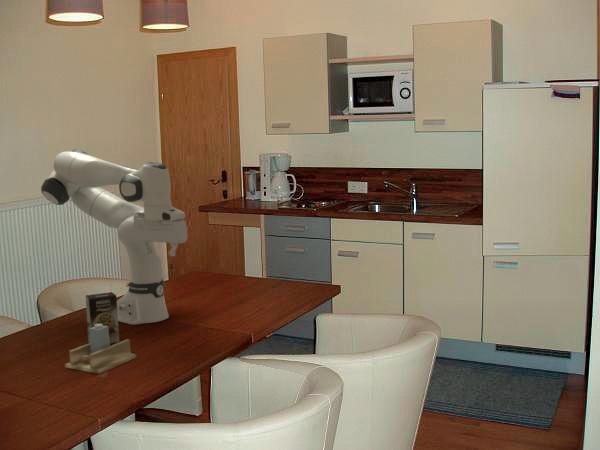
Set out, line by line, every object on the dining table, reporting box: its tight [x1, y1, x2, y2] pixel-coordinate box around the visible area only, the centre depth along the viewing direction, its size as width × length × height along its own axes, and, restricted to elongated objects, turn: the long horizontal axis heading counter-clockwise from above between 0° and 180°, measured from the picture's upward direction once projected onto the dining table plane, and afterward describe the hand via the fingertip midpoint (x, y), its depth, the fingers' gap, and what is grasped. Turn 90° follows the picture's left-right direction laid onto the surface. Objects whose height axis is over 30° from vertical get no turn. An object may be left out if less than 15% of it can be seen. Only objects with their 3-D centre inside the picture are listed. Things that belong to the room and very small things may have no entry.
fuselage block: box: [89, 324, 111, 354], centre depth 228 cm, size 4×4×11 cm
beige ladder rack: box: [64, 337, 137, 374], centre depth 229 cm, size 14×16×5 cm
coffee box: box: [85, 291, 120, 345], centre depth 249 cm, size 9×6×16 cm
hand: (160, 255), depth 244 cm, fingers open, 8 cm apart
